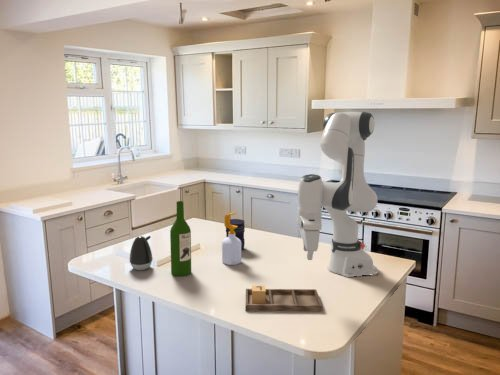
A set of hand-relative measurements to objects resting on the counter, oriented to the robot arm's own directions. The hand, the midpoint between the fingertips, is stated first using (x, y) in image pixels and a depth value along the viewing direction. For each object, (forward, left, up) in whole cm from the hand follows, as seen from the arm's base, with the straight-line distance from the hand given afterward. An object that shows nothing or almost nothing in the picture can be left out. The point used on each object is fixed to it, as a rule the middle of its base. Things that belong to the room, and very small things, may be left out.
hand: (307, 254), depth 156 cm
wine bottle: (+52, -28, -19) cm, 62 cm away
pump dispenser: (+71, -33, -19) cm, 81 cm away
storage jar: (+29, -61, -19) cm, 70 cm away
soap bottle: (+30, -42, -19) cm, 55 cm away
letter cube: (+18, 0, -18) cm, 26 cm away
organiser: (+9, 0, -19) cm, 21 cm away
